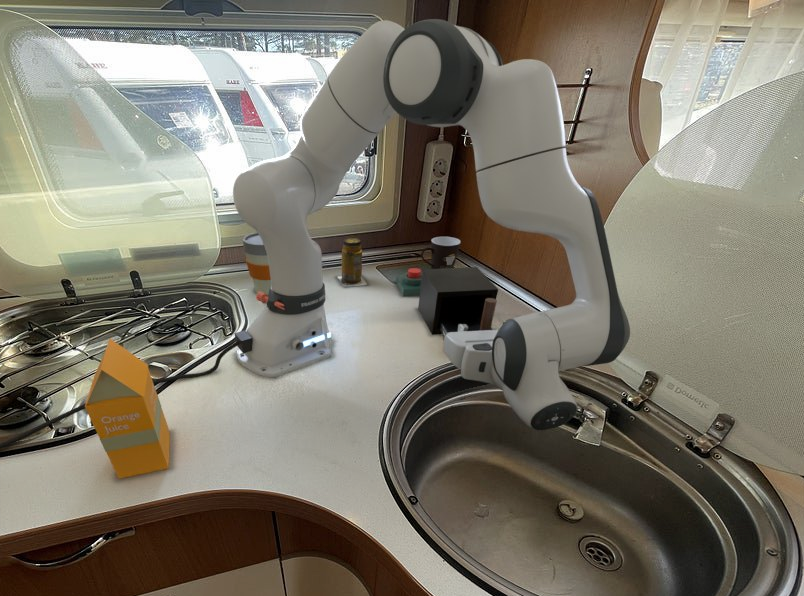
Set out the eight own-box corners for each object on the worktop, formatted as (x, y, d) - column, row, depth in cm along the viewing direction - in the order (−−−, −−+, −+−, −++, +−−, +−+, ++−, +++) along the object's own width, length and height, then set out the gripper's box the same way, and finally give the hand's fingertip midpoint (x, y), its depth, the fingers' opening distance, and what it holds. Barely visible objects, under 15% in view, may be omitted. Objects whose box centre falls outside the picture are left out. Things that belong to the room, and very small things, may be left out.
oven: (488, 332, 102) (498, 289, 95) (431, 335, 101) (437, 292, 95) (469, 306, 113) (476, 266, 107) (417, 309, 112) (422, 269, 106)
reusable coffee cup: (286, 299, 118) (281, 246, 110) (243, 297, 120) (235, 244, 111) (296, 282, 128) (292, 231, 120) (256, 280, 130) (250, 230, 121)
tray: (507, 353, 90) (520, 301, 83) (455, 356, 89) (465, 303, 82) (480, 319, 103) (490, 270, 96) (435, 321, 102) (441, 273, 95)
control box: (430, 295, 119) (432, 281, 117) (402, 296, 119) (404, 283, 117) (422, 281, 127) (423, 268, 125) (395, 282, 127) (396, 269, 125)
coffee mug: (453, 268, 136) (458, 236, 130) (457, 278, 129) (462, 245, 123) (417, 267, 137) (420, 236, 131) (418, 277, 130) (422, 245, 124)
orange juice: (117, 479, 66) (67, 374, 54) (124, 441, 73) (80, 341, 61) (170, 468, 68) (132, 364, 56) (171, 432, 75) (138, 333, 63)
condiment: (359, 274, 133) (360, 236, 125) (367, 285, 126) (368, 244, 119) (337, 276, 131) (336, 238, 124) (343, 287, 125) (343, 247, 118)
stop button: (421, 279, 120) (422, 272, 119) (409, 279, 120) (409, 273, 118) (418, 274, 123) (419, 267, 121) (406, 274, 122) (407, 268, 121)
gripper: (571, 343, 75) (536, 309, 86) (459, 350, 74) (438, 314, 85) (561, 372, 79) (528, 336, 90) (454, 379, 78) (434, 341, 89)
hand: (483, 325), depth 88 cm, fingers open, 8 cm apart
